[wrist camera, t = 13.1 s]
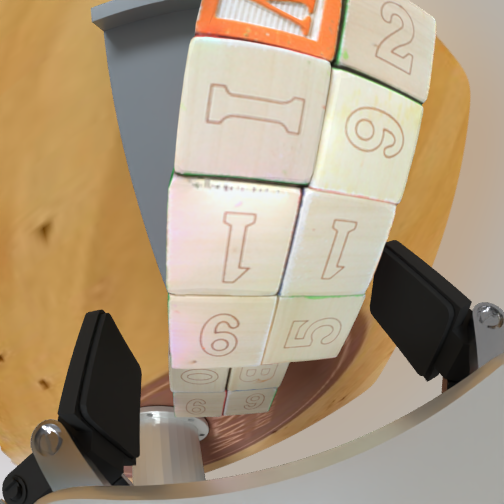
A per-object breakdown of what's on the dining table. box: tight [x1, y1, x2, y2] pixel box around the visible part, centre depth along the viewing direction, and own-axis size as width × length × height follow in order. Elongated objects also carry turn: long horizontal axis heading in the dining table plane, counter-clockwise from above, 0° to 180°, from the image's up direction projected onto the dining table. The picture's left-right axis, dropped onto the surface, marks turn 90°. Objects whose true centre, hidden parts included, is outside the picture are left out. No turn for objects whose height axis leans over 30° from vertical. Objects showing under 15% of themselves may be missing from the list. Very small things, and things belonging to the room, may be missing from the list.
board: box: [91, 0, 201, 292], centre depth 18 cm, size 27×11×4 cm, turn 8°
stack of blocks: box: [166, 0, 436, 417], centre depth 14 cm, size 21×6×12 cm, turn 170°
